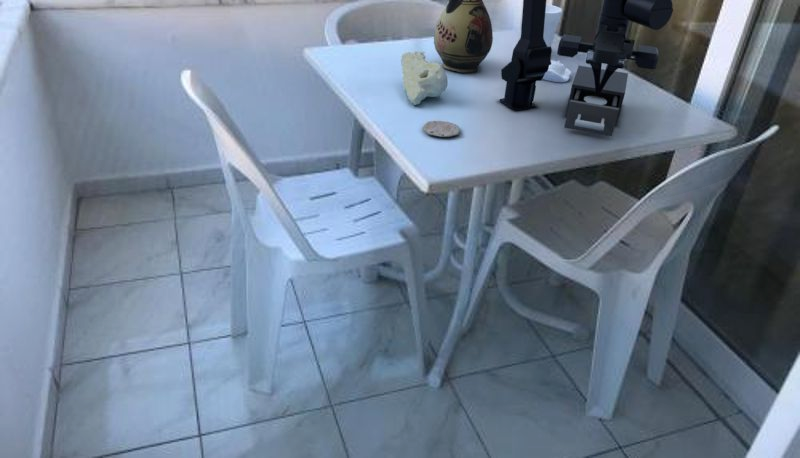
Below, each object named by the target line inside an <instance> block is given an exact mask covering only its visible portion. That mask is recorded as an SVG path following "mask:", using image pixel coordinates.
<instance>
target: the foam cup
mask: <svg viewBox="0 0 800 458" xmlns="http://www.w3.org/2000/svg"><path fill="white" fill-rule="evenodd" d="M562 13H563V9H562V8H561V7H559V6H556V5H553V4H548V3H546V11H545V23H544V35H543V38H544V41H545V43H546V45H547V47H551V48H552V44H553V43H554V42H553V41H554V39H555V35H556V32H557V30H558V26H559V24H560V21H561V18H562Z"/></svg>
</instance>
